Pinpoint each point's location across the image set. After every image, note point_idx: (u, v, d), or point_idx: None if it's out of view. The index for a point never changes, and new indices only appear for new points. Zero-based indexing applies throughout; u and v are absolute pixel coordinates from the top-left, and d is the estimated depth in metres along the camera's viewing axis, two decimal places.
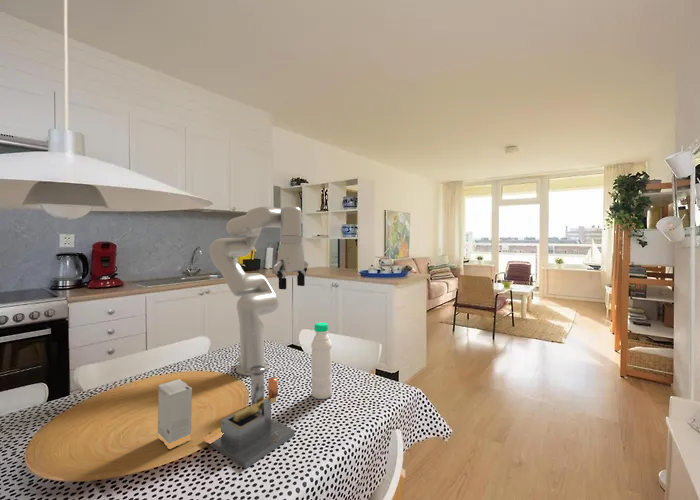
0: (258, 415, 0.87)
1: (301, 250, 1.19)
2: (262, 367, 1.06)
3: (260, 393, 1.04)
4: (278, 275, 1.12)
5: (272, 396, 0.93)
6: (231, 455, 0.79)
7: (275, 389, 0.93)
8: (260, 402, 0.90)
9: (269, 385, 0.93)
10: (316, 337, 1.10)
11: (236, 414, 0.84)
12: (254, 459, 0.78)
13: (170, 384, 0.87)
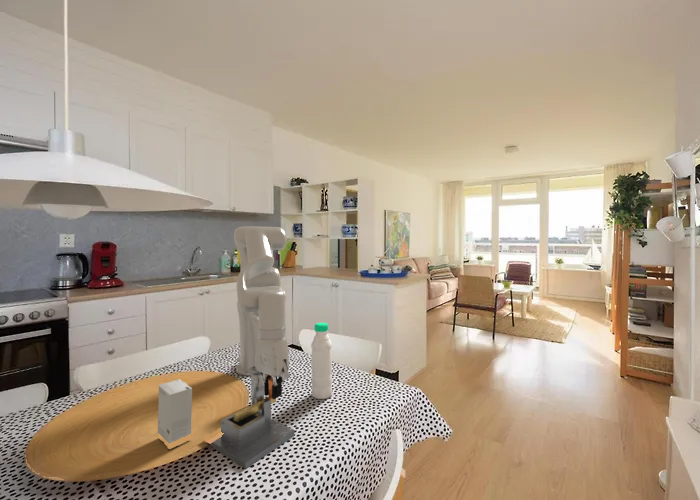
0: (258, 415, 0.87)
1: None
2: None
3: (260, 393, 1.04)
4: (281, 381, 0.92)
5: None
6: (231, 455, 0.79)
7: None
8: (260, 402, 0.90)
9: (269, 385, 0.93)
10: (316, 337, 1.10)
11: (236, 414, 0.84)
12: (254, 459, 0.78)
13: (170, 384, 0.88)
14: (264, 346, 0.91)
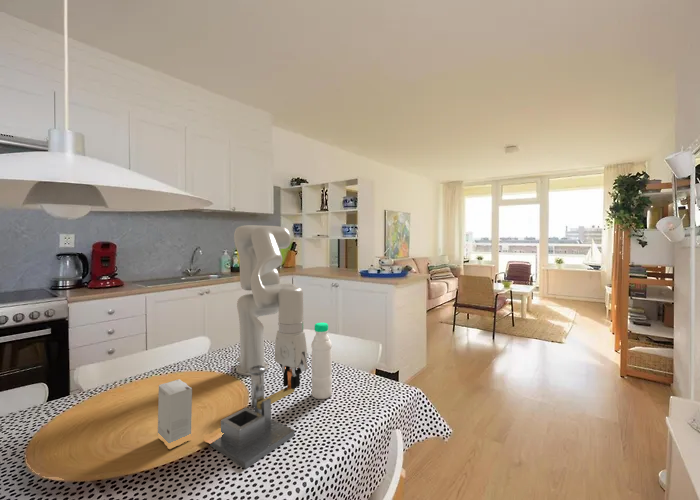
0: (258, 415, 0.87)
1: None
2: (262, 367, 1.06)
3: (260, 393, 1.04)
4: (300, 372, 0.98)
5: None
6: (231, 455, 0.79)
7: None
8: (280, 392, 0.96)
9: (288, 376, 0.99)
10: (316, 337, 1.10)
11: (259, 402, 0.90)
12: (254, 459, 0.78)
13: (170, 384, 0.87)
14: (284, 339, 0.97)
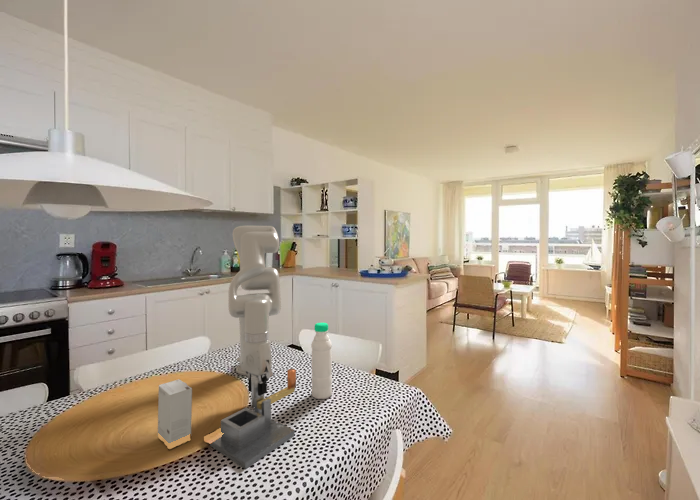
0: (258, 415, 0.87)
1: None
2: None
3: None
4: (266, 380, 1.03)
5: (291, 386, 0.99)
6: (231, 455, 0.79)
7: (294, 380, 0.99)
8: (280, 392, 0.96)
9: (288, 376, 0.99)
10: (316, 337, 1.10)
11: (259, 402, 0.90)
12: (254, 459, 0.78)
13: (170, 384, 0.87)
14: (249, 348, 1.03)
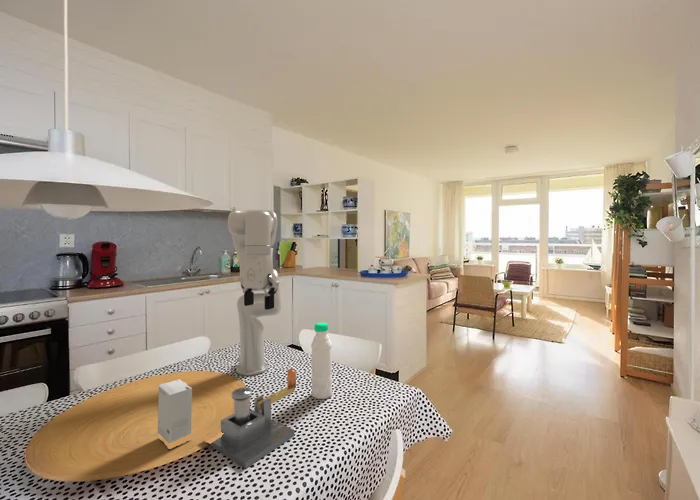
0: (258, 415, 0.87)
1: None
2: (248, 391, 0.86)
3: (245, 423, 0.84)
4: (274, 292, 0.95)
5: (291, 386, 0.99)
6: (231, 455, 0.79)
7: (294, 380, 0.99)
8: (280, 392, 0.96)
9: (288, 376, 0.99)
10: (316, 337, 1.10)
11: (259, 402, 0.90)
12: (254, 459, 0.78)
13: (170, 384, 0.88)
14: (250, 261, 0.97)
